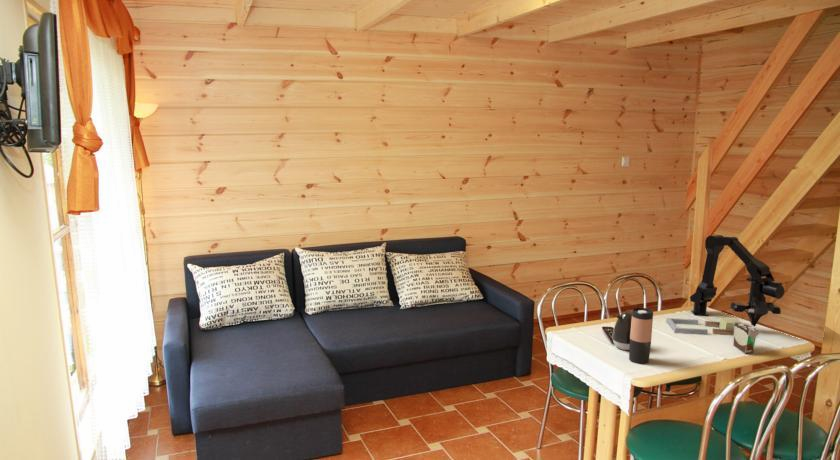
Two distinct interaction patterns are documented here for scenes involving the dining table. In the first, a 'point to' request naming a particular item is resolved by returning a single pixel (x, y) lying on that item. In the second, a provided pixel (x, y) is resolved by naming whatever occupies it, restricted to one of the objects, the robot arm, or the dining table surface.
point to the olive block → (728, 323)
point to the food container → (744, 337)
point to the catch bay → (676, 329)
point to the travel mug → (640, 335)
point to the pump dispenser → (622, 331)
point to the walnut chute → (718, 331)
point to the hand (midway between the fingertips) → (753, 326)
